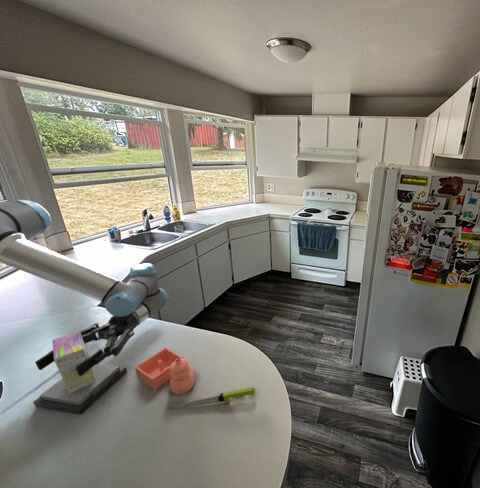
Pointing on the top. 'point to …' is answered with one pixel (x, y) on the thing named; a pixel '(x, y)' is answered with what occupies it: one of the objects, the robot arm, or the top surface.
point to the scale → (80, 391)
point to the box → (72, 361)
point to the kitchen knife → (217, 398)
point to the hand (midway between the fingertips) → (58, 368)
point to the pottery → (166, 371)
